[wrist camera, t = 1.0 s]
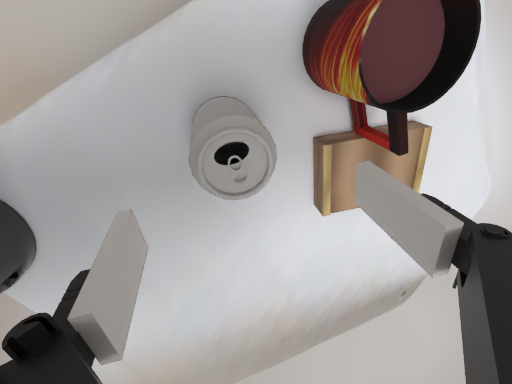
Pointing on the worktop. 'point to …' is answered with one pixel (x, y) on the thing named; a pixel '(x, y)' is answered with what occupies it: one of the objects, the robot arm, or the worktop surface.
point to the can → (230, 149)
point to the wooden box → (360, 150)
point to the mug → (390, 56)
